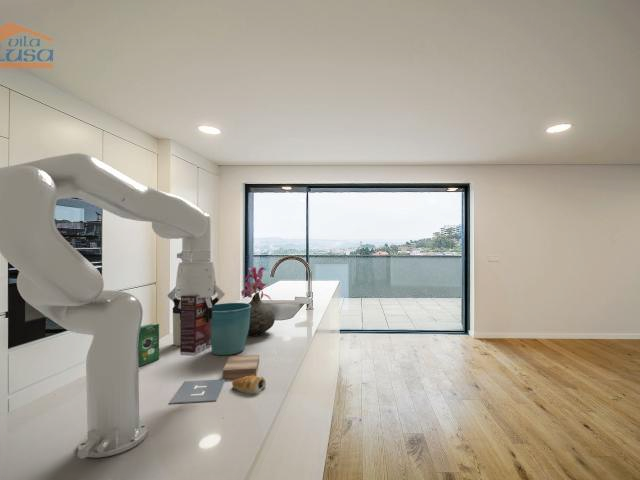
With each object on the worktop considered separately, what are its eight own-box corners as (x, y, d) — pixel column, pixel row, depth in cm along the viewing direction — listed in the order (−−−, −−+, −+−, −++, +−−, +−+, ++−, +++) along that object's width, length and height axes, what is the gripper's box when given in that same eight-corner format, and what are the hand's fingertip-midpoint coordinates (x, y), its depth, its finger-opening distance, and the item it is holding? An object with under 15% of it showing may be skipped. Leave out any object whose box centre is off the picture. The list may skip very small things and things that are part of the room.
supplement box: (195, 356, 93) (195, 296, 94) (179, 355, 94) (179, 295, 94) (212, 347, 102) (212, 292, 102) (196, 346, 102) (196, 292, 103)
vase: (230, 337, 153) (228, 268, 153) (249, 327, 170) (248, 265, 170) (265, 340, 149) (263, 269, 149) (281, 329, 165) (280, 265, 165)
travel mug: (174, 341, 148) (173, 299, 148) (194, 339, 151) (193, 297, 151) (172, 347, 141) (171, 302, 141) (193, 345, 143) (192, 300, 143)
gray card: (216, 401, 92) (216, 399, 92) (168, 403, 91) (168, 402, 91) (225, 380, 106) (225, 379, 106) (184, 382, 105) (184, 381, 105)
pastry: (227, 391, 98) (226, 378, 98) (240, 382, 105) (240, 369, 105) (256, 396, 95) (256, 382, 95) (268, 386, 102) (268, 373, 102)
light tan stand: (256, 376, 108) (255, 368, 108) (222, 378, 107) (222, 370, 107) (259, 362, 121) (259, 354, 121) (229, 363, 120) (229, 356, 120)
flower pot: (193, 357, 128) (192, 310, 128) (218, 342, 145) (217, 301, 145) (238, 360, 124) (237, 312, 124) (259, 345, 141) (258, 303, 141)
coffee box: (154, 358, 127) (153, 322, 127) (160, 359, 126) (159, 322, 126) (134, 365, 120) (134, 327, 120) (140, 366, 119) (139, 328, 119)
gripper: (159, 257, 94) (159, 325, 93) (225, 257, 96) (225, 324, 95) (169, 257, 101) (168, 320, 101) (230, 256, 103) (230, 318, 103)
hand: (196, 321), depth 98 cm, fingers closed on supplement box, 5 cm apart
